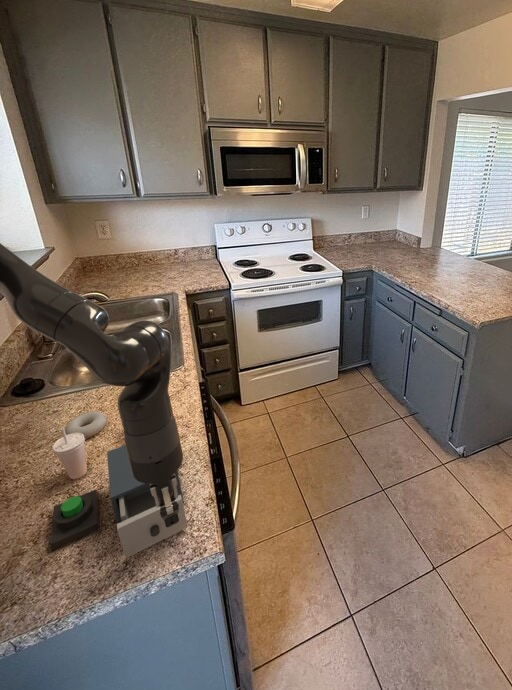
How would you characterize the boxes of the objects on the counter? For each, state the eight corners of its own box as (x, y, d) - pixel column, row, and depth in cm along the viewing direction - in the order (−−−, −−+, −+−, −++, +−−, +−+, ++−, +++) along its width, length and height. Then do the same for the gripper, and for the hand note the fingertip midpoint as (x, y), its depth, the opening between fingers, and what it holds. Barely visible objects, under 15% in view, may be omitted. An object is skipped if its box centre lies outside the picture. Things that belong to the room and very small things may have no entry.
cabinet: (183, 502, 80) (177, 469, 77) (120, 532, 74) (110, 498, 71) (171, 460, 92) (165, 430, 88) (115, 483, 85) (107, 451, 82)
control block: (99, 529, 74) (95, 517, 73) (52, 550, 70) (47, 538, 69) (98, 494, 82) (94, 483, 81) (55, 512, 78) (51, 500, 77)
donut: (72, 448, 97) (112, 428, 103) (68, 438, 95) (109, 419, 102) (63, 431, 103) (101, 413, 110) (59, 421, 102) (98, 404, 109)
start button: (83, 511, 75) (81, 505, 74) (62, 520, 73) (60, 514, 73) (83, 499, 78) (81, 493, 77) (63, 507, 76) (61, 501, 75)
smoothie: (57, 485, 85) (40, 438, 80) (70, 464, 91) (56, 419, 86) (86, 481, 86) (71, 434, 81) (97, 461, 92) (84, 416, 87)
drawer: (189, 531, 73) (183, 503, 70) (126, 564, 67) (117, 534, 64) (174, 481, 84) (169, 455, 82) (120, 505, 79) (112, 478, 76)
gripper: (124, 428, 60) (143, 504, 66) (132, 483, 50) (154, 568, 55) (171, 412, 64) (185, 485, 70) (187, 459, 53) (203, 541, 59)
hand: (172, 521), depth 63 cm, fingers closed
